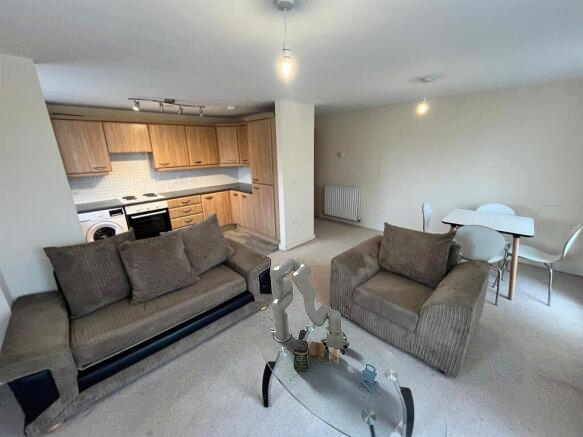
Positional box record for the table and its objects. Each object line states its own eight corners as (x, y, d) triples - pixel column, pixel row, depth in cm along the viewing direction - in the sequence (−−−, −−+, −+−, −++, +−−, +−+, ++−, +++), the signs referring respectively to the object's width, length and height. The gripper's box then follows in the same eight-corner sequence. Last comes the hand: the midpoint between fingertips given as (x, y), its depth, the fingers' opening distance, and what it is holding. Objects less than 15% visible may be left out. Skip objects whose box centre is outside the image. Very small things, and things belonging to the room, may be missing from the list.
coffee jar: (292, 371, 146) (291, 347, 140) (294, 359, 153) (293, 336, 147) (308, 372, 144) (307, 349, 138) (309, 361, 152) (308, 338, 146)
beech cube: (329, 363, 150) (329, 355, 148) (330, 355, 155) (330, 347, 153) (338, 365, 148) (338, 357, 146) (339, 356, 153) (339, 349, 152)
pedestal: (308, 358, 154) (308, 353, 153) (311, 345, 163) (311, 341, 162) (324, 361, 151) (324, 356, 150) (326, 348, 160) (326, 343, 159)
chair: (364, 374, 141) (364, 359, 137) (378, 382, 136) (379, 366, 132) (358, 384, 136) (359, 369, 132) (373, 393, 131) (373, 377, 127)
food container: (349, 345, 161) (350, 333, 158) (346, 352, 156) (347, 340, 153) (332, 338, 167) (332, 326, 164) (329, 344, 163) (329, 333, 159)
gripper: (319, 332, 143) (320, 354, 148) (349, 336, 138) (349, 359, 143) (321, 323, 149) (322, 345, 155) (349, 327, 145) (349, 349, 150)
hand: (335, 352), depth 149 cm, fingers open, 9 cm apart
